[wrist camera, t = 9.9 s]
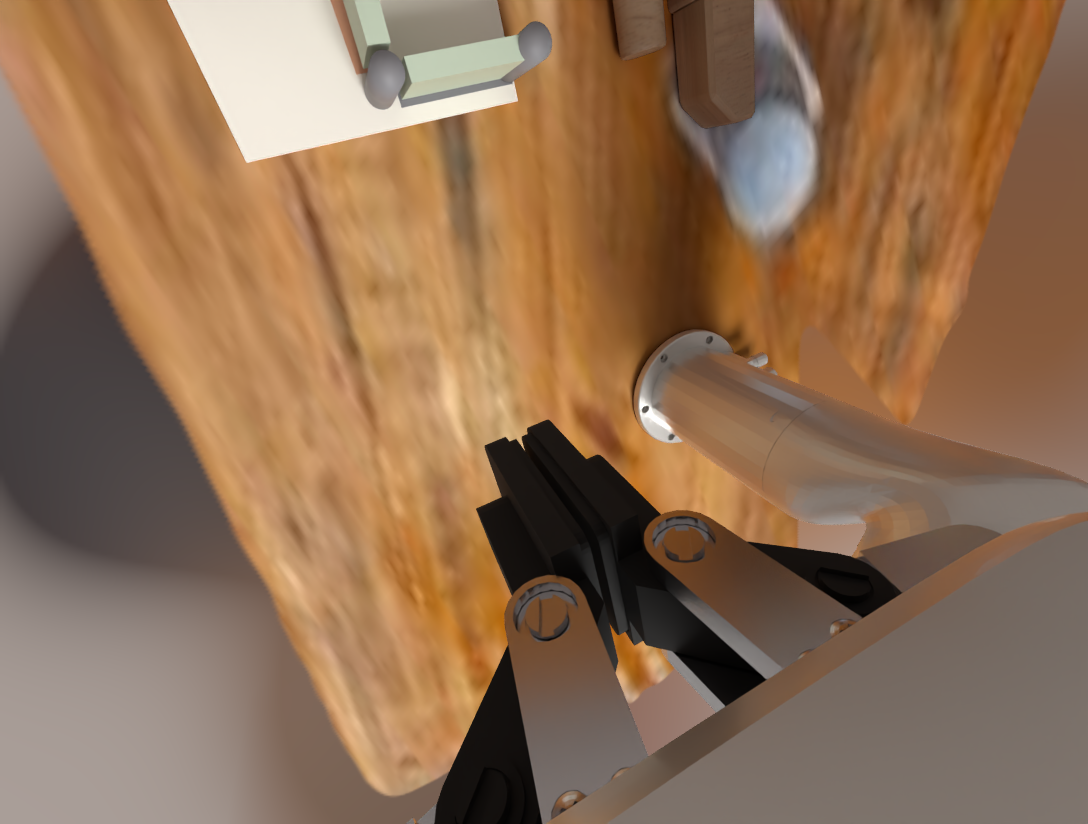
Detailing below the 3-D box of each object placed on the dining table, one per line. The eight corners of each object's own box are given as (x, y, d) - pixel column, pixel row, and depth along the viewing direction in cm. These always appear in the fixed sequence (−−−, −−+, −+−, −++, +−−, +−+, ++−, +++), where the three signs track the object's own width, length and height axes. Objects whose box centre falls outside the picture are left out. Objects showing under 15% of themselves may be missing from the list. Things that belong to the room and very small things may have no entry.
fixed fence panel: (514, 48, 30) (548, 18, 25) (520, 80, 31) (554, 58, 26) (359, 79, 28) (363, 53, 23) (371, 113, 29) (377, 95, 24)
